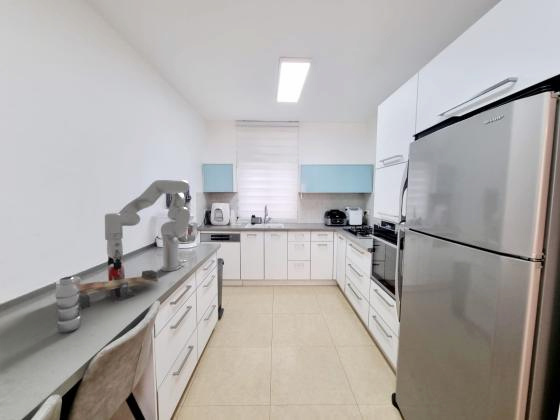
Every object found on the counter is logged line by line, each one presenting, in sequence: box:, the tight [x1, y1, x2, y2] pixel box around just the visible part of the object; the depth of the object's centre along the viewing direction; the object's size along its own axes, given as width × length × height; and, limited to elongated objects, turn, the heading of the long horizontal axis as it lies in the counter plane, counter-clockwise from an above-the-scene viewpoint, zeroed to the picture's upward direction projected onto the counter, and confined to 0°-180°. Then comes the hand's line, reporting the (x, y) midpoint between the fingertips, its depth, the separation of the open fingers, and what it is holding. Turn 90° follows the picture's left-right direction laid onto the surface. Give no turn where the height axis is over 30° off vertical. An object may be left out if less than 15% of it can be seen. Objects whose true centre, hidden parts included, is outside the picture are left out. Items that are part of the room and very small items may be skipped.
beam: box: [77, 269, 159, 294], centre depth 108 cm, size 32×8×4 cm, turn 142°
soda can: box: [107, 262, 126, 281], centre depth 118 cm, size 7×7×12 cm
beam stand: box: [78, 277, 136, 310], centre depth 104 cm, size 20×13×8 cm, turn 142°
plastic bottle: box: [54, 275, 83, 334], centre depth 80 cm, size 6×7×20 cm
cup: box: [55, 276, 82, 295], centre depth 104 cm, size 8×12×10 cm
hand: (114, 267), depth 117 cm, fingers open, 9 cm apart
